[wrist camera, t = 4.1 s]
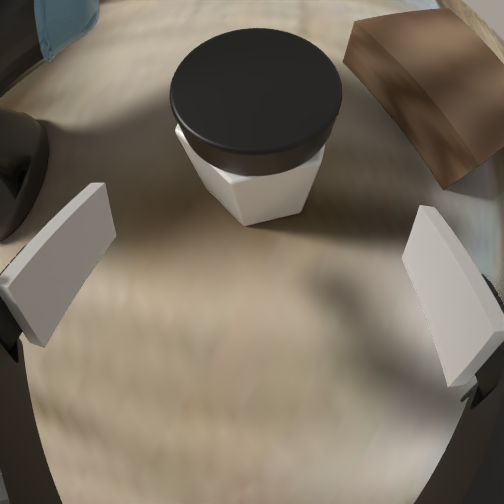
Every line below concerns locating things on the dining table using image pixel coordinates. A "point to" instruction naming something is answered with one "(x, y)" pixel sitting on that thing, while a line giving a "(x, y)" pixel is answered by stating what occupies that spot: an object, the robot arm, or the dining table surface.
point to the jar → (256, 118)
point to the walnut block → (433, 86)
